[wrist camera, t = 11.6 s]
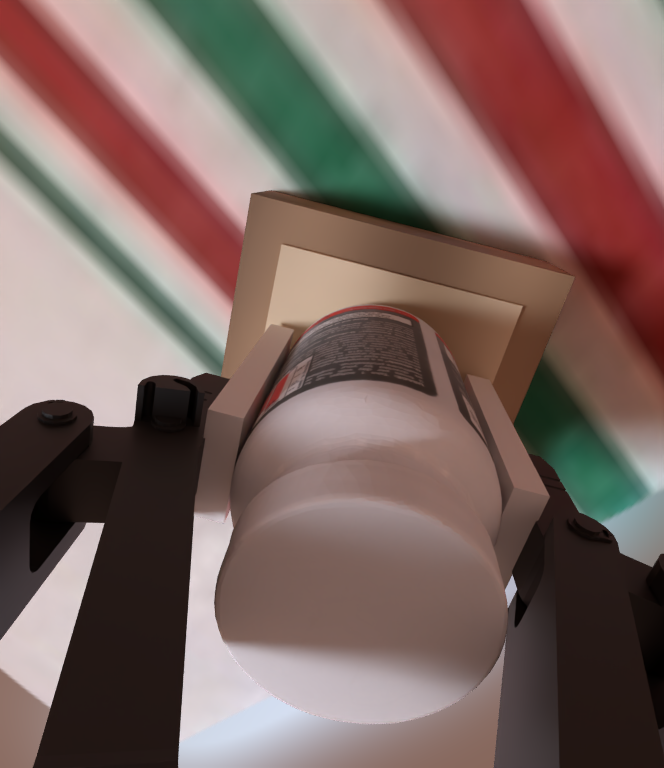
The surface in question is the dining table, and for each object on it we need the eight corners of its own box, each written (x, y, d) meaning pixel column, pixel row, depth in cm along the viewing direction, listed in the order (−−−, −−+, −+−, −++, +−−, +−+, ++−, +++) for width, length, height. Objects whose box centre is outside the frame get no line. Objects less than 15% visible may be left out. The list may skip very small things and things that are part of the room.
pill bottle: (255, 406, 18) (122, 647, 9) (341, 265, 16) (281, 388, 7) (395, 486, 19) (404, 788, 10) (494, 361, 17) (629, 593, 7)
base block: (227, 434, 22) (203, 473, 19) (271, 190, 18) (250, 193, 15) (454, 492, 22) (465, 540, 19) (546, 261, 18) (576, 278, 15)
